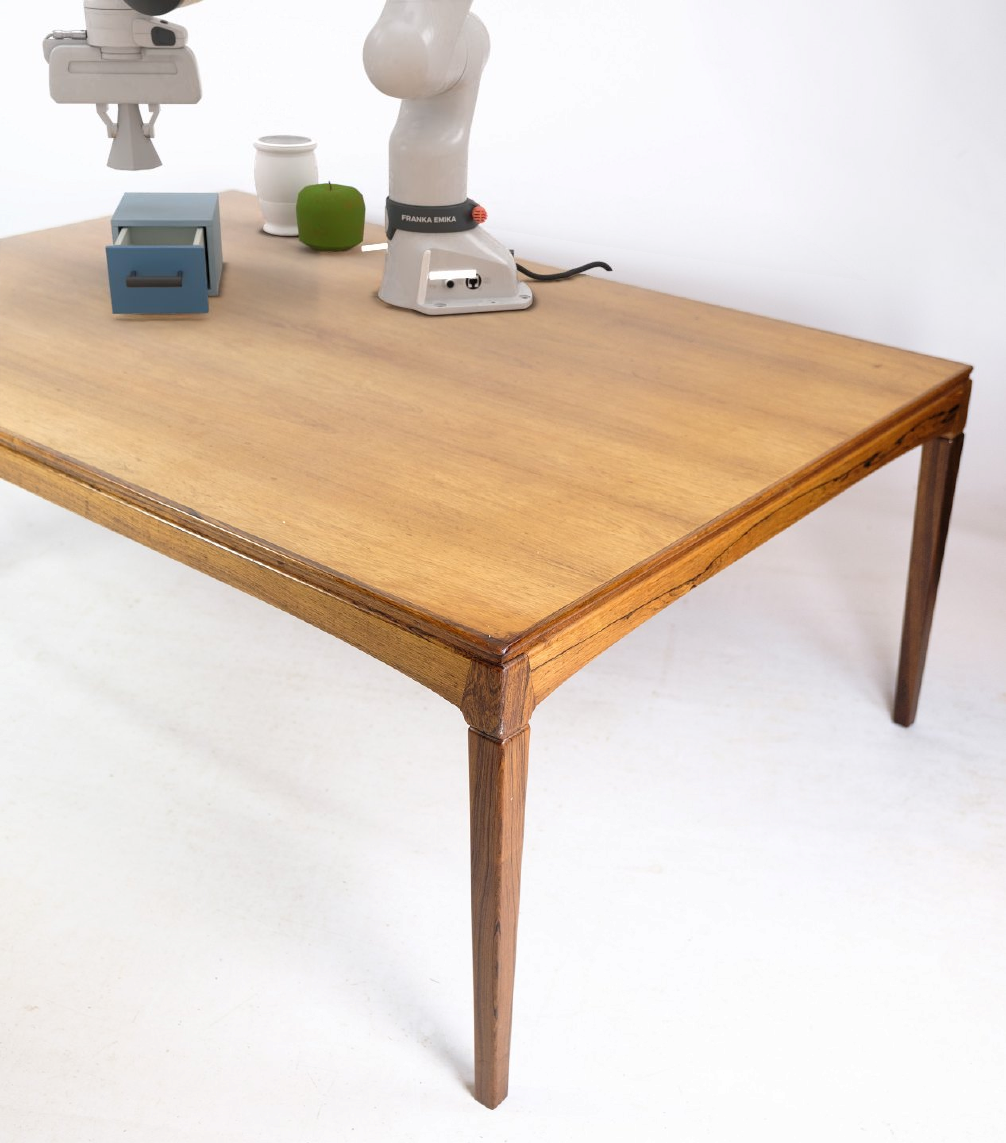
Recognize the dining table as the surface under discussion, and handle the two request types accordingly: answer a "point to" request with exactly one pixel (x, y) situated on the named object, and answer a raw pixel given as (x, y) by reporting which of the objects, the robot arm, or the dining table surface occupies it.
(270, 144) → the jar
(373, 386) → the dining table surface
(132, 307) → the drawer
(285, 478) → the dining table surface
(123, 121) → the flask
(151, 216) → the cabinet
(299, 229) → the apple
